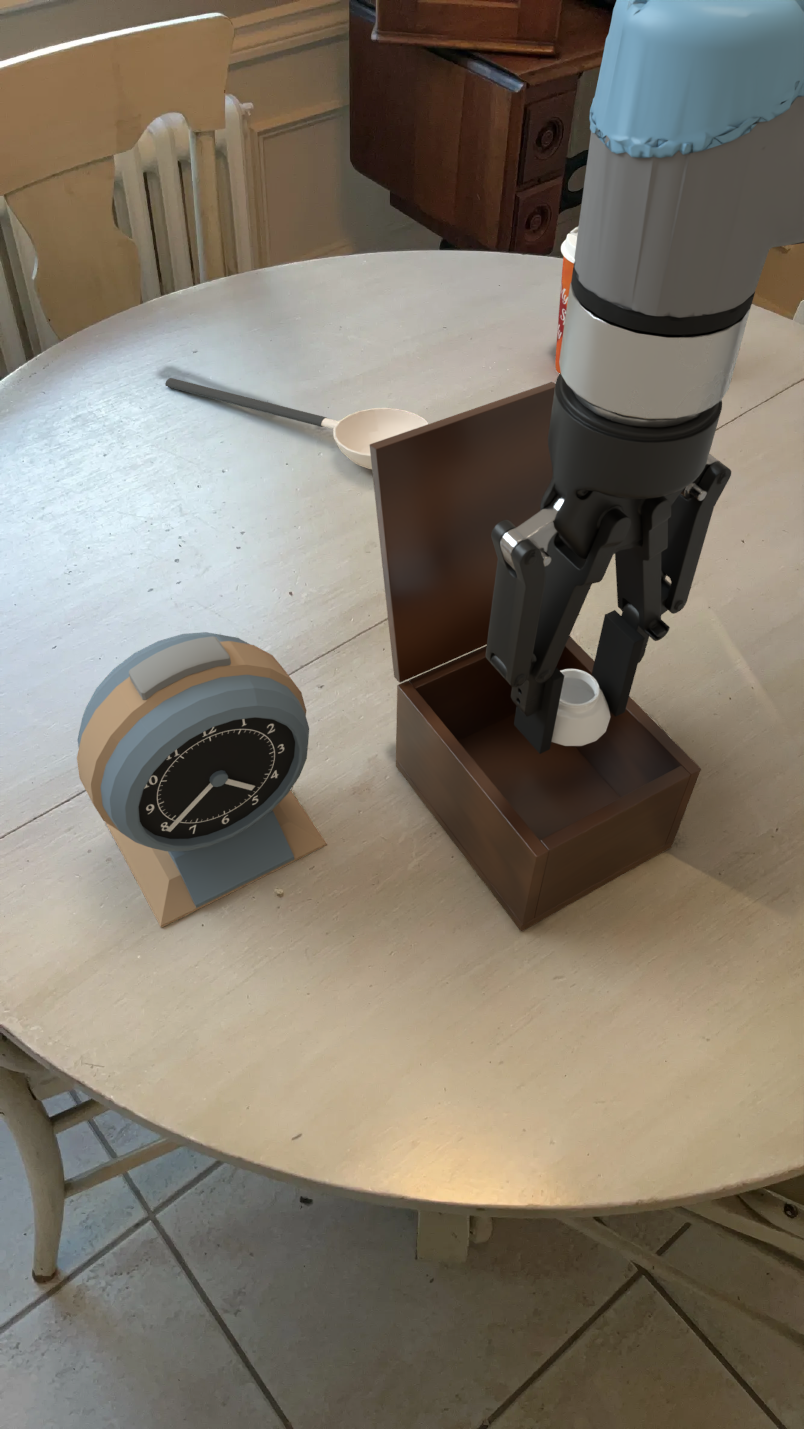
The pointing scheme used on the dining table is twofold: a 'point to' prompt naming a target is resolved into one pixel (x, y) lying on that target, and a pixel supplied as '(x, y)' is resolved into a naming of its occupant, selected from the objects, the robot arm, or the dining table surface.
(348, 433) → the ladle
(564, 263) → the paper cup
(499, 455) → the box lid
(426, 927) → the dining table surface
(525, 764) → the keepsake box
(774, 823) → the dining table surface
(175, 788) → the alarm clock
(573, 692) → the lidless jar
